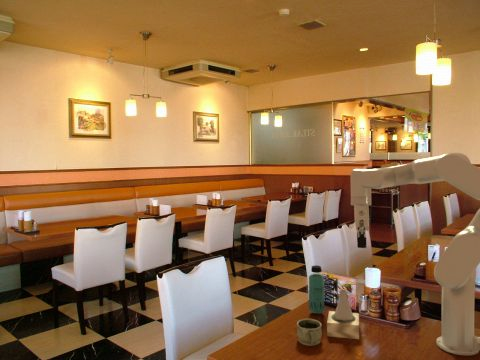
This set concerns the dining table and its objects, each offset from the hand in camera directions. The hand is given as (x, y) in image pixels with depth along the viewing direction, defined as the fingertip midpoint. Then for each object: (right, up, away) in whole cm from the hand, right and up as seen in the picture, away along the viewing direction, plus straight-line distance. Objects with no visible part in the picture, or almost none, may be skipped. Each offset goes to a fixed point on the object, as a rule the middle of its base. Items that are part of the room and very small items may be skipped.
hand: (361, 244), depth 153 cm
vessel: (-23, -32, -13) cm, 41 cm away
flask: (-9, -26, -7) cm, 28 cm away
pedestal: (-9, -31, -7) cm, 33 cm away
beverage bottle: (-15, -30, +10) cm, 35 cm away
